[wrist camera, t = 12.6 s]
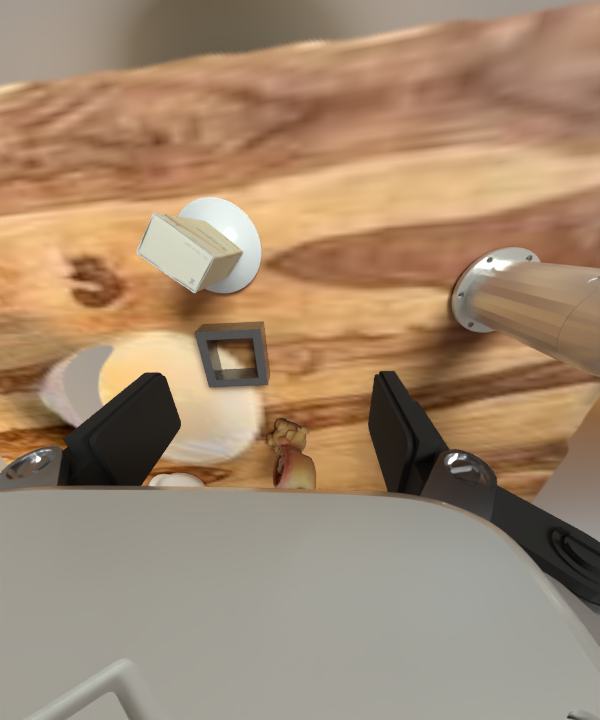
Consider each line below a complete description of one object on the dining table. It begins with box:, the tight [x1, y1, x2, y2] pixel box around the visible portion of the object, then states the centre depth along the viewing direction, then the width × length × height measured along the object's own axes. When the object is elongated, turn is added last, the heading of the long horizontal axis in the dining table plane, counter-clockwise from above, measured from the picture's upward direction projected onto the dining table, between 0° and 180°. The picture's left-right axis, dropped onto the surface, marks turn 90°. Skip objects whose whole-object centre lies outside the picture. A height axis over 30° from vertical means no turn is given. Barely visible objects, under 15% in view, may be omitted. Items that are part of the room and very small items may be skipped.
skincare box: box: [137, 213, 243, 293], centre depth 27 cm, size 6×4×12 cm
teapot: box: [148, 473, 206, 487], centre depth 53 cm, size 22×14×11 cm, turn 9°
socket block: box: [195, 322, 270, 387], centre depth 39 cm, size 10×10×4 cm
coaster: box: [178, 197, 262, 293], centre depth 33 cm, size 12×12×1 cm
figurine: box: [267, 418, 316, 489], centre depth 44 cm, size 10×8×15 cm
